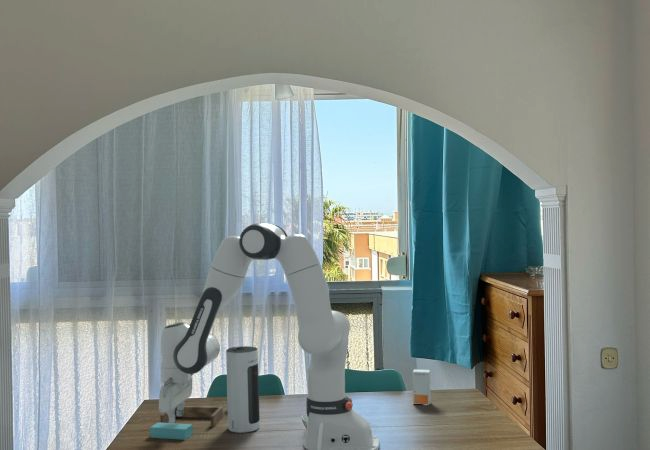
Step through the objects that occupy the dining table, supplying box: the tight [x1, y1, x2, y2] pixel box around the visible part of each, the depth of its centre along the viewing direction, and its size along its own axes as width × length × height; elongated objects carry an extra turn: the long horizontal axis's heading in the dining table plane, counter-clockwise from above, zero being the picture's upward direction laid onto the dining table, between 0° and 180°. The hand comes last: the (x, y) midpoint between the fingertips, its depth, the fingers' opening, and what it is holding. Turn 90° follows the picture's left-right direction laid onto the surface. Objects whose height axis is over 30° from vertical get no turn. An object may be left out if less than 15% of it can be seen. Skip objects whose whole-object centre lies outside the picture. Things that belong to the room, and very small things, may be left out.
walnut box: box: [160, 405, 224, 428], centre depth 217 cm, size 18×11×4 cm, turn 83°
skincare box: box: [412, 368, 432, 405], centre depth 233 cm, size 6×4×12 cm
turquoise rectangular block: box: [149, 421, 194, 441], centre depth 203 cm, size 12×5×4 cm, turn 76°
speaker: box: [225, 345, 261, 434], centre depth 209 cm, size 11×10×26 cm
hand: (176, 418), depth 202 cm, fingers open, 5 cm apart
